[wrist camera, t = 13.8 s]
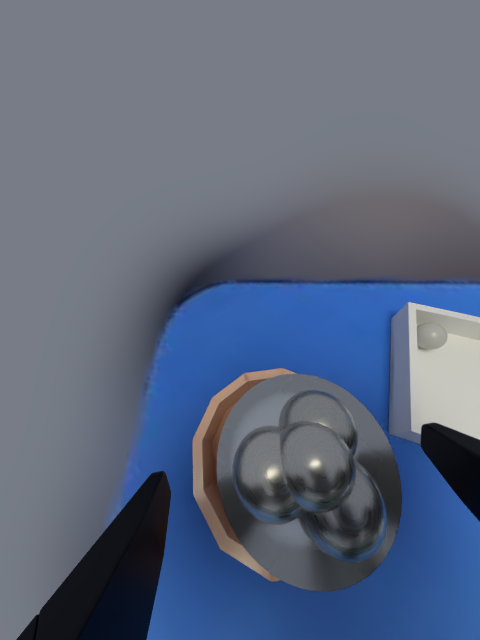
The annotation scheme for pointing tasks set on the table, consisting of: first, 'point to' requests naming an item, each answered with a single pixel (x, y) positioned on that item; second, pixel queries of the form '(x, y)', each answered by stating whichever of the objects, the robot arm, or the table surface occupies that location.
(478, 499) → the robot arm
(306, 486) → the silver ball-topped cylinder
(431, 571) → the table surface
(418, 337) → the pebble
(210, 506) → the bowl
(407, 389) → the tray
